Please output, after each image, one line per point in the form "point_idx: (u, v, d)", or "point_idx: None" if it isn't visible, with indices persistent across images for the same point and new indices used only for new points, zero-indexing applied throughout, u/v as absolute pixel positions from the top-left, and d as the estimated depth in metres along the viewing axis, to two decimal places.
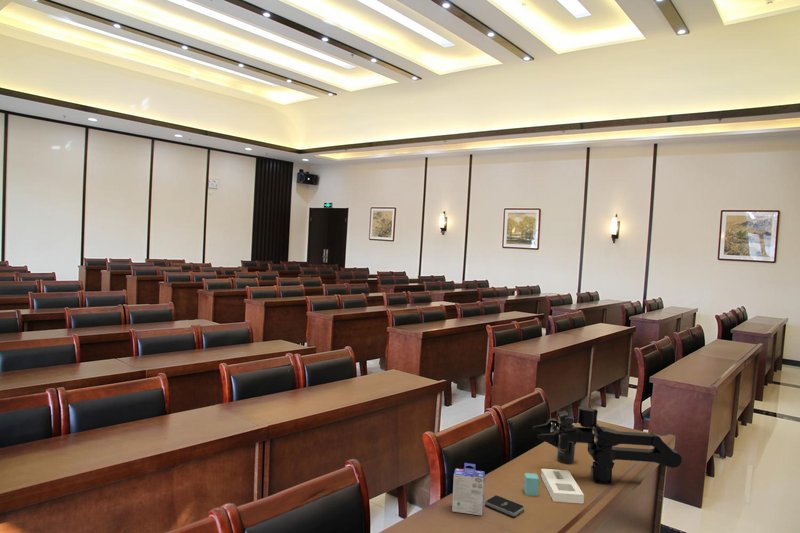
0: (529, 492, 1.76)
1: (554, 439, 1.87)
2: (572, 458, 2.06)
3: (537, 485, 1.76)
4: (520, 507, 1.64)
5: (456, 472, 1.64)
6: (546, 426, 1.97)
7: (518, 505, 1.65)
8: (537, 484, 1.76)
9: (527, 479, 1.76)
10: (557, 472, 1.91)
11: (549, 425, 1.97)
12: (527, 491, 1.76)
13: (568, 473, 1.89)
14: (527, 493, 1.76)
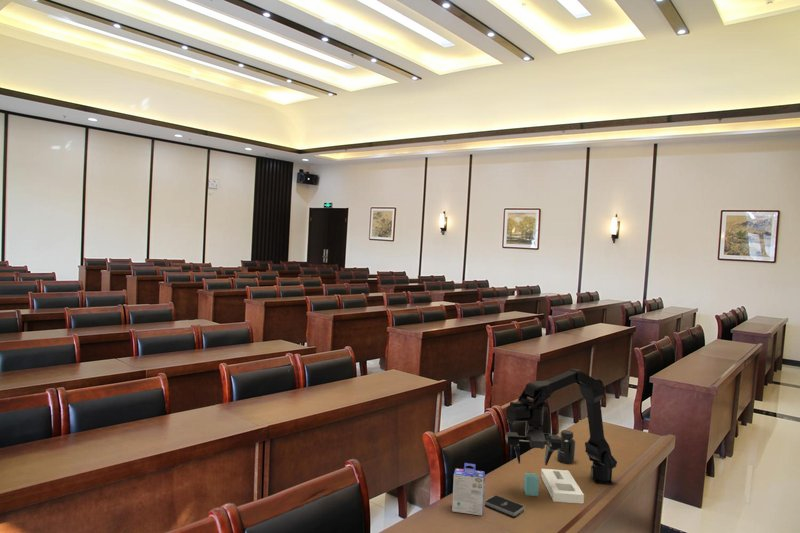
0: (529, 492, 1.76)
1: None
2: (572, 458, 2.06)
3: (537, 485, 1.76)
4: (520, 507, 1.64)
5: (456, 472, 1.64)
6: None
7: (518, 505, 1.65)
8: (537, 484, 1.76)
9: (527, 479, 1.76)
10: (557, 472, 1.91)
11: (519, 446, 1.77)
12: (527, 491, 1.76)
13: (568, 473, 1.89)
14: (527, 493, 1.76)
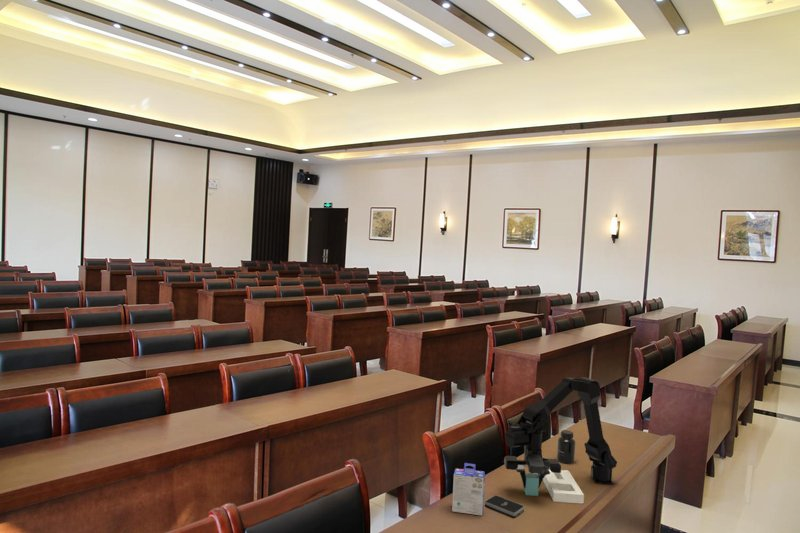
0: (529, 492, 1.76)
1: None
2: (572, 458, 2.06)
3: (537, 485, 1.76)
4: (520, 507, 1.64)
5: (456, 472, 1.64)
6: (524, 473, 1.78)
7: (518, 505, 1.65)
8: (537, 484, 1.76)
9: (527, 479, 1.76)
10: None
11: (524, 471, 1.77)
12: (527, 491, 1.76)
13: (568, 473, 1.89)
14: (527, 493, 1.76)
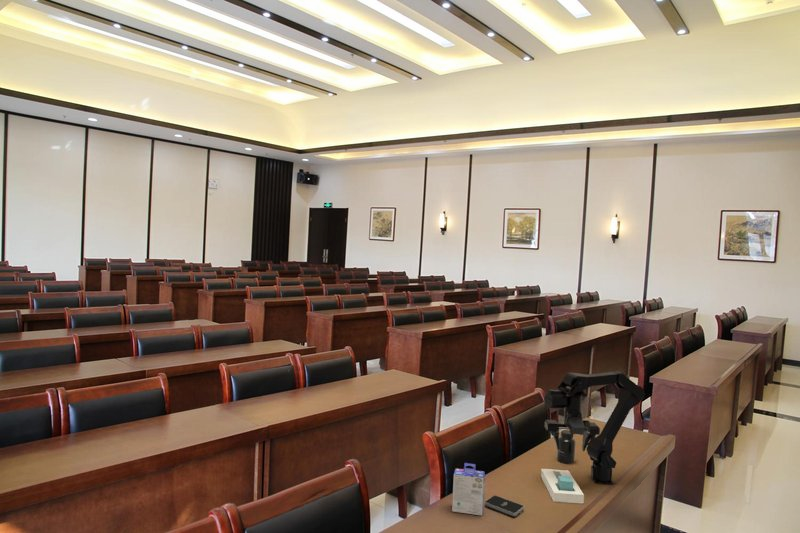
0: None
1: None
2: (572, 458, 2.06)
3: (571, 488, 1.75)
4: (520, 507, 1.64)
5: (456, 472, 1.64)
6: None
7: (518, 505, 1.65)
8: (571, 487, 1.75)
9: (561, 482, 1.75)
10: (557, 472, 1.91)
11: None
12: None
13: (568, 473, 1.89)
14: None
